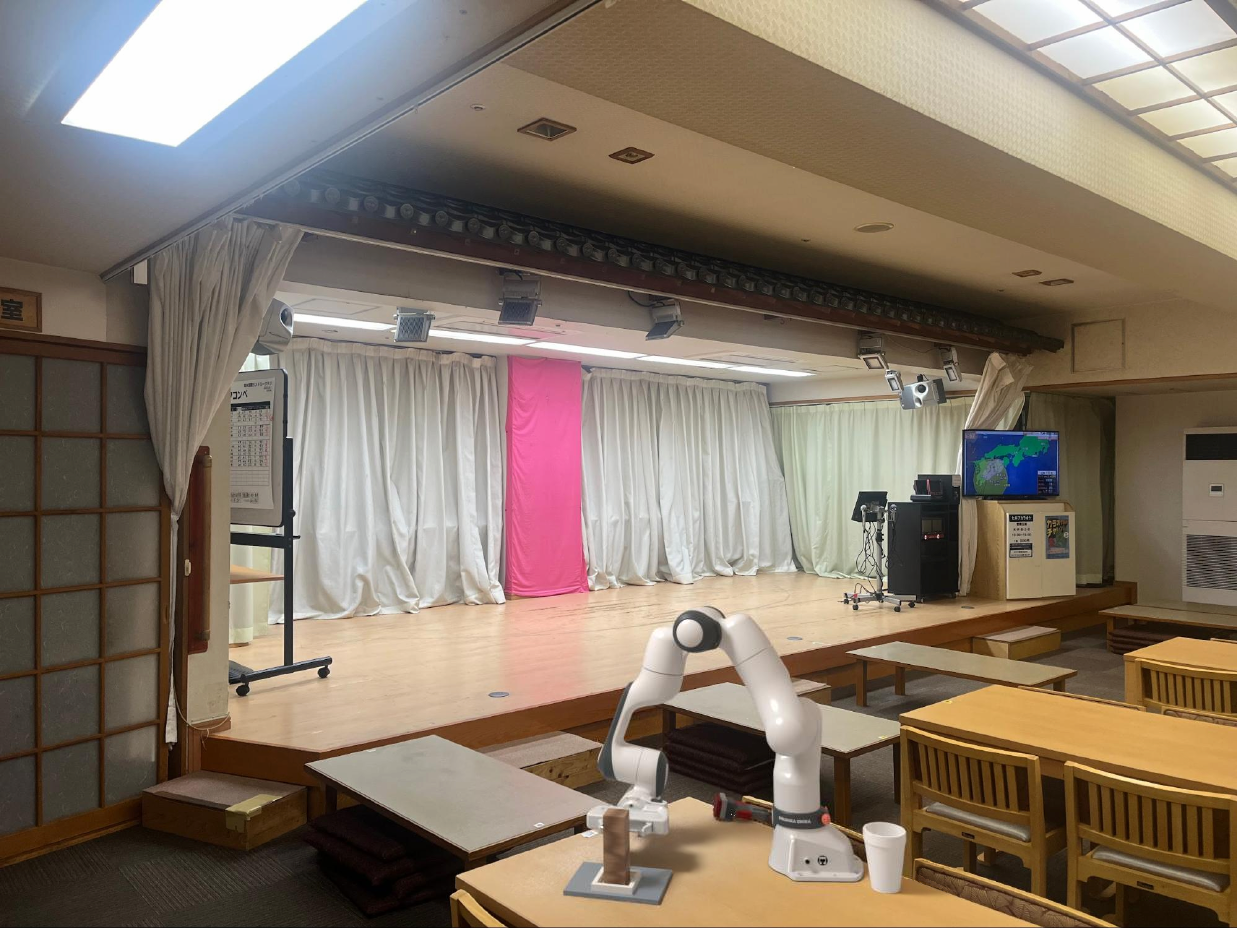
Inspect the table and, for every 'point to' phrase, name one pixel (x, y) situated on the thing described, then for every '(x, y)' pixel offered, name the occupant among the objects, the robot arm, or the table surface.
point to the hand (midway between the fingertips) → (621, 832)
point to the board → (644, 892)
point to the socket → (613, 888)
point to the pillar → (616, 846)
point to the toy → (737, 809)
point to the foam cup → (885, 855)
